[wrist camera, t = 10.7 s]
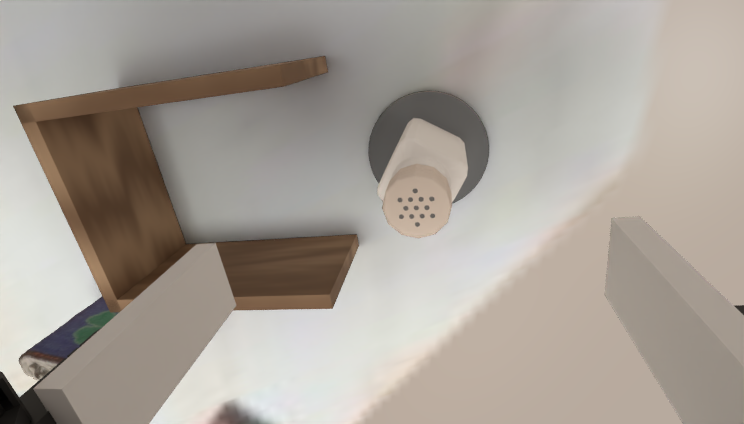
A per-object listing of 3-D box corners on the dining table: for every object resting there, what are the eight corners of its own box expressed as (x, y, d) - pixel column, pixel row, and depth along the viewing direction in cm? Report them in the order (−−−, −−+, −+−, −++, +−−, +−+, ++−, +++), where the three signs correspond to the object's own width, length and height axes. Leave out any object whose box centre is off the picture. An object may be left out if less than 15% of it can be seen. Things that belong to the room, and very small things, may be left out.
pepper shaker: (467, 139, 27) (477, 190, 18) (438, 190, 28) (435, 259, 20) (412, 112, 26) (395, 151, 18) (387, 165, 28) (360, 223, 20)
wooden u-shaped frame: (118, 88, 30) (13, 105, 23) (325, 55, 27) (279, 64, 19) (179, 255, 35) (110, 312, 28) (358, 245, 32) (332, 308, 25)
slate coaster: (361, 99, 27) (360, 100, 27) (485, 83, 26) (486, 84, 25) (378, 208, 30) (377, 212, 30) (490, 201, 29) (491, 204, 28)
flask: (193, 296, 37) (102, 390, 27) (198, 322, 38) (113, 421, 28) (103, 285, 38) (-14, 371, 29) (110, 311, 39) (1, 401, 30)
